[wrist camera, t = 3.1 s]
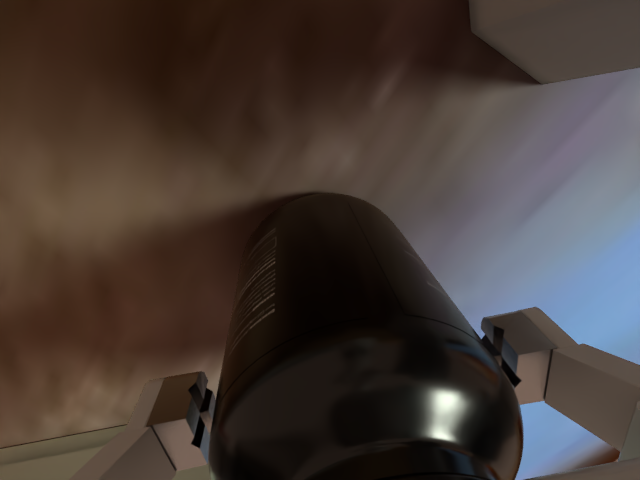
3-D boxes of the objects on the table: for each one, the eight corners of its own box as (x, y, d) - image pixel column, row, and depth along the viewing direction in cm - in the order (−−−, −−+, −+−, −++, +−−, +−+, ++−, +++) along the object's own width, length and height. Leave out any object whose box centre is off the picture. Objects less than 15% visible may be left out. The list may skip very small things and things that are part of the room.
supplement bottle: (292, 350, 17) (306, 835, 6) (209, 236, 14) (-23, 771, 3) (426, 290, 16) (706, 728, 5) (368, 155, 13) (717, 523, 3)
